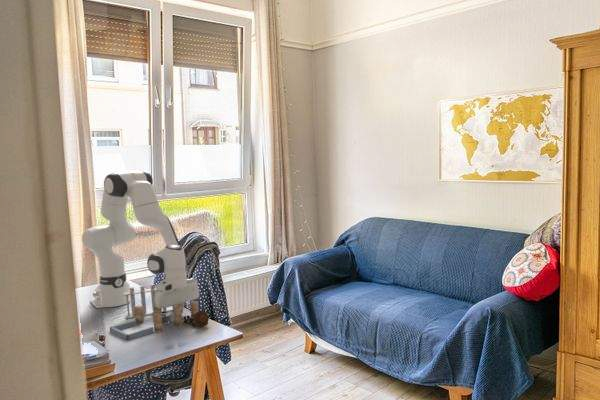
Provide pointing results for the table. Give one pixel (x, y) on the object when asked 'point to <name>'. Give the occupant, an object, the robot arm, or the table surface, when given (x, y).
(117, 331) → the tray
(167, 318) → the hex nut
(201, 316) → the toy
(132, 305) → the test tube rack
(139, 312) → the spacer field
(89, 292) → the table surface
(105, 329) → the table surface
